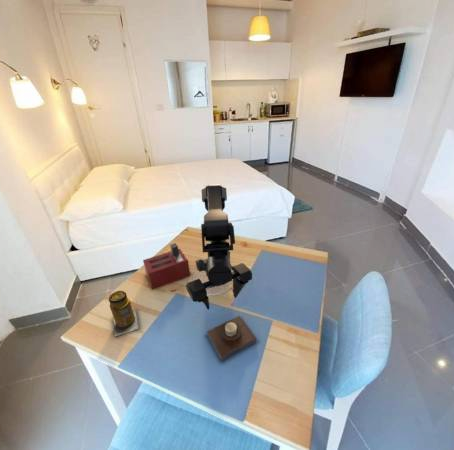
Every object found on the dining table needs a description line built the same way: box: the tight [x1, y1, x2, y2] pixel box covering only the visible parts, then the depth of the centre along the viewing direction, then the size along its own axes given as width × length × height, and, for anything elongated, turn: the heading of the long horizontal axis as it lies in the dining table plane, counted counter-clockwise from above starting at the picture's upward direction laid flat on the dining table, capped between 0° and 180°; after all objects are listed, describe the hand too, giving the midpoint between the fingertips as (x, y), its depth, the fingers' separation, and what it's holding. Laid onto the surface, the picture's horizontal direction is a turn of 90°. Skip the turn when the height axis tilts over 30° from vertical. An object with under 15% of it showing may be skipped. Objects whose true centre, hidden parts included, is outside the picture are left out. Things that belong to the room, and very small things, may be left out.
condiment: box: [108, 290, 139, 337], centre depth 82 cm, size 7×8×12 cm
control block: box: [206, 315, 257, 362], centre depth 78 cm, size 12×10×4 cm
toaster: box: [142, 248, 191, 290], centre depth 105 cm, size 16×10×8 cm, turn 120°
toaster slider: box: [169, 242, 179, 256], centre depth 106 cm, size 2×3×4 cm
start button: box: [225, 322, 237, 336], centre depth 77 cm, size 4×4×2 cm
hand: (221, 302), depth 76 cm, fingers open, 9 cm apart
